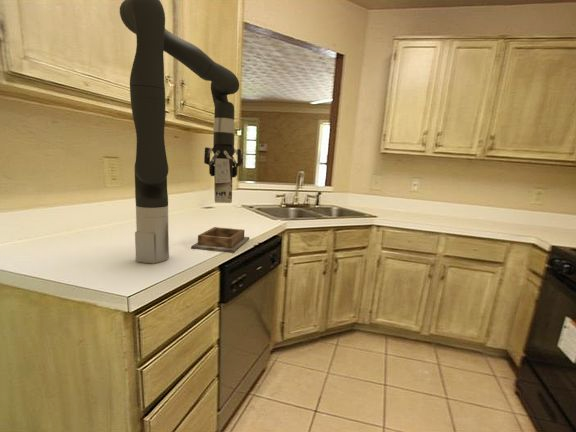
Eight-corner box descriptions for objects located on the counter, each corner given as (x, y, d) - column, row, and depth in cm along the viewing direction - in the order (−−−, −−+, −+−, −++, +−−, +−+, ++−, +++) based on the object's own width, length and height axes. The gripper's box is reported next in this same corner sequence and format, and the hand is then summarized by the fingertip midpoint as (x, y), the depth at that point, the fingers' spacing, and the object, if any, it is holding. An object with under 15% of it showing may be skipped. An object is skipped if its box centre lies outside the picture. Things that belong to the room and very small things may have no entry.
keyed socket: (249, 239, 128) (249, 228, 127) (233, 253, 109) (234, 240, 108) (212, 235, 130) (212, 225, 130) (191, 248, 111) (191, 236, 110)
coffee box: (232, 203, 113) (233, 158, 110) (214, 202, 111) (214, 157, 108) (230, 200, 122) (231, 158, 119) (214, 199, 120) (214, 157, 117)
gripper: (245, 133, 115) (244, 177, 118) (209, 132, 117) (209, 175, 120) (239, 131, 107) (238, 178, 110) (201, 130, 109) (200, 175, 112)
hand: (223, 176), depth 115 cm, fingers closed on coffee box, 8 cm apart
